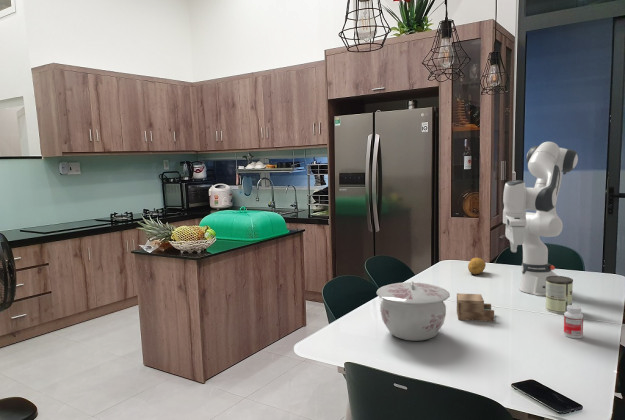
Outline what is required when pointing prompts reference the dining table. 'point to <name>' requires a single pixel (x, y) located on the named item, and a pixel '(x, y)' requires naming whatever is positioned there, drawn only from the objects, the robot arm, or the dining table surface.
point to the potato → (476, 265)
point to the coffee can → (558, 293)
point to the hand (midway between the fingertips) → (513, 251)
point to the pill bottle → (573, 322)
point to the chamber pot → (413, 309)
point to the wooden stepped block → (473, 308)
